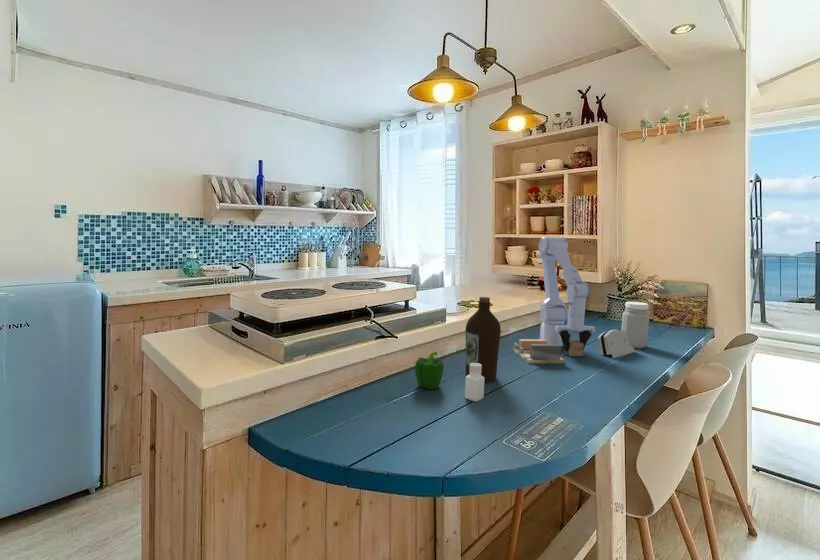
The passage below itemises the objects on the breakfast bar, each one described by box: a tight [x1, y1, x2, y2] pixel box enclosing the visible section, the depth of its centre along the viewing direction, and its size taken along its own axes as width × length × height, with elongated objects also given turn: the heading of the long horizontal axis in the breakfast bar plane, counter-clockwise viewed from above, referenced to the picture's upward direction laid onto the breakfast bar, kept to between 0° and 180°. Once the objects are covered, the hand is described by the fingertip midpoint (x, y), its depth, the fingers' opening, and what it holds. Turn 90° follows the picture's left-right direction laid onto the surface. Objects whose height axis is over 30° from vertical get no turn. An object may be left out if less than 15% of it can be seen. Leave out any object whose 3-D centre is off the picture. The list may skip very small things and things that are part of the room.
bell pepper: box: [414, 351, 444, 390], centre depth 121 cm, size 8×8×10 cm
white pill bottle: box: [464, 363, 485, 402], centre depth 113 cm, size 4×4×10 cm
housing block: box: [563, 339, 585, 357], centre depth 159 cm, size 5×5×5 cm
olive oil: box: [465, 296, 502, 383], centre depth 130 cm, size 11×11×25 cm
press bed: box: [512, 342, 566, 364], centre depth 155 cm, size 16×13×6 cm
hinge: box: [597, 329, 635, 359], centre depth 164 cm, size 17×5×10 cm, turn 127°
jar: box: [620, 301, 650, 350], centre depth 174 cm, size 10×10×18 cm
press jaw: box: [518, 338, 547, 349], centre depth 160 cm, size 2×10×3 cm, turn 95°
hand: (573, 350), depth 159 cm, fingers open, 5 cm apart
